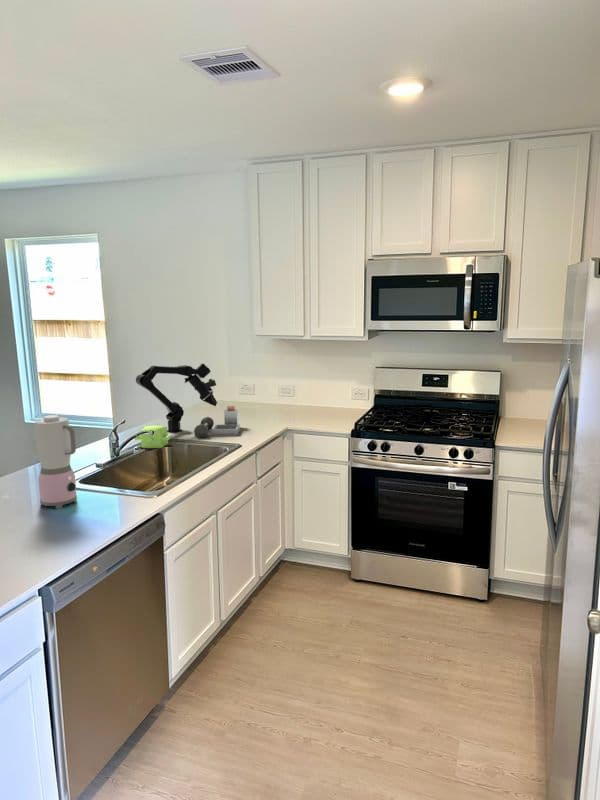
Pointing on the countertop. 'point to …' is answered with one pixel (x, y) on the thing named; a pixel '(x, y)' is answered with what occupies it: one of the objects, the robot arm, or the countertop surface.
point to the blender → (55, 461)
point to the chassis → (215, 429)
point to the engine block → (231, 415)
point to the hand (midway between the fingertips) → (216, 404)
